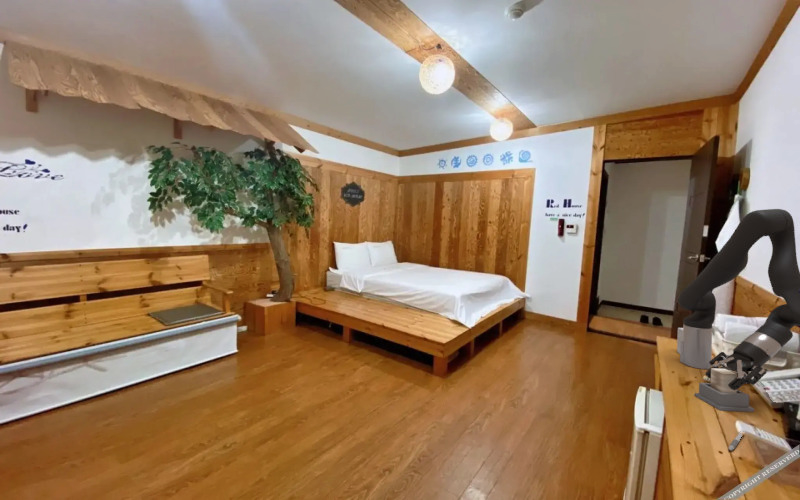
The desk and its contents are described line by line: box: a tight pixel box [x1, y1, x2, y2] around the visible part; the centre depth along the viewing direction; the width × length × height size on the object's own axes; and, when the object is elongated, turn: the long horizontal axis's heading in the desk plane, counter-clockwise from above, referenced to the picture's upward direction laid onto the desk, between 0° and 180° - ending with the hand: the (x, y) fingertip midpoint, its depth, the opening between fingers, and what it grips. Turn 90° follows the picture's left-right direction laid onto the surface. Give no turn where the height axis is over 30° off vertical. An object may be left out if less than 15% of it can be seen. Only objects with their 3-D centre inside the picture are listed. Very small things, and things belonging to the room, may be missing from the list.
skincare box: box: [676, 327, 683, 355], centre depth 155 cm, size 6×4×12 cm
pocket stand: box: [694, 382, 755, 413], centre depth 109 cm, size 10×10×5 cm
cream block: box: [710, 367, 738, 393], centre depth 109 cm, size 4×4×10 cm
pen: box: [728, 432, 743, 451], centre depth 88 cm, size 1×14×1 cm, turn 124°
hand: (719, 382), depth 109 cm, fingers open, 8 cm apart
